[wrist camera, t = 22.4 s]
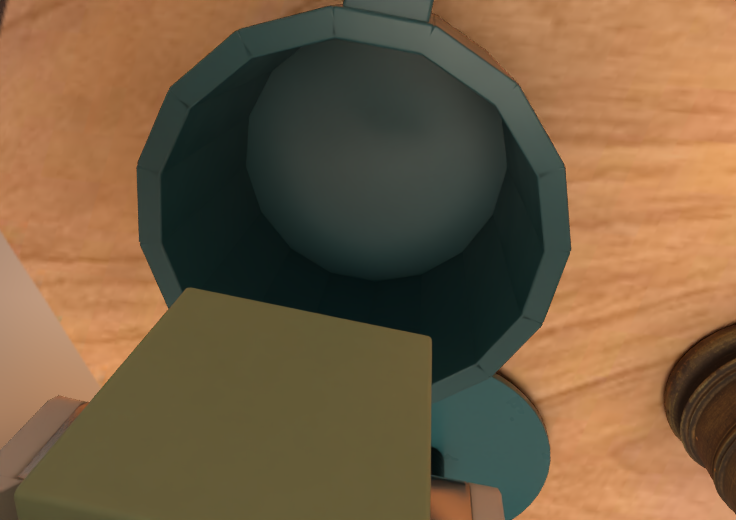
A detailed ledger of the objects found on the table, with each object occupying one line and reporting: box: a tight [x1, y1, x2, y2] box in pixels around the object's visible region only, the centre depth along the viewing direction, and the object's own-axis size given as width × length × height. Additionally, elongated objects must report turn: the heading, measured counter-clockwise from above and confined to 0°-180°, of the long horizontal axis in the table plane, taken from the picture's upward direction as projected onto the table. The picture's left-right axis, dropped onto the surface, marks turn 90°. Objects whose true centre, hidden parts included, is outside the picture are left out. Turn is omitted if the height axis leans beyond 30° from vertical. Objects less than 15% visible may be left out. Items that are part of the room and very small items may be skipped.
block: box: [14, 287, 432, 520], centre depth 9 cm, size 4×4×4 cm
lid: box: [431, 373, 550, 520], centre depth 30 cm, size 15×15×6 cm
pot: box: [137, 0, 571, 405], centre depth 21 cm, size 14×19×10 cm
